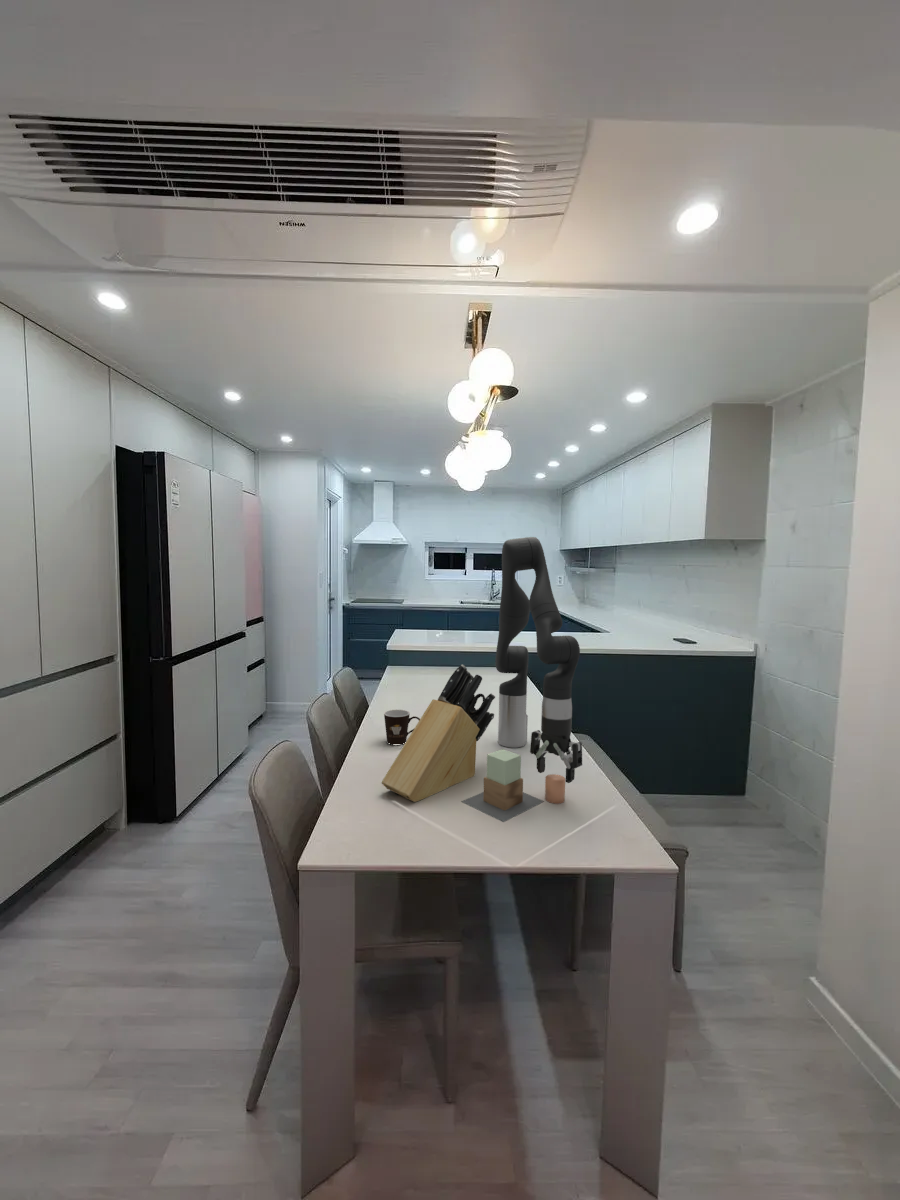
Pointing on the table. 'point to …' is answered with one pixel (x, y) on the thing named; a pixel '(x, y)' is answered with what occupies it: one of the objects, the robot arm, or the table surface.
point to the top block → (503, 766)
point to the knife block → (442, 741)
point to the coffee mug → (397, 725)
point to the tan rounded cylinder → (555, 788)
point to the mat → (499, 813)
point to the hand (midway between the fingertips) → (554, 776)
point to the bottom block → (503, 793)
